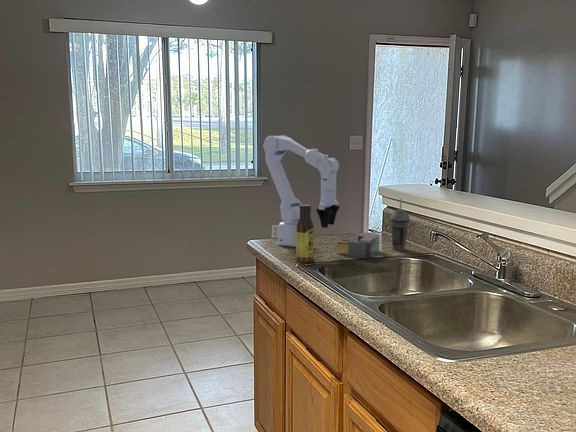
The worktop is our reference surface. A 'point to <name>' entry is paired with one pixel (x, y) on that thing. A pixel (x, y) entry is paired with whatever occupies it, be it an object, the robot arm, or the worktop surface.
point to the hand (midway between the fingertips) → (327, 225)
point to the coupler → (364, 246)
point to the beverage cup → (399, 228)
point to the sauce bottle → (305, 235)
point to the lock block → (343, 247)
